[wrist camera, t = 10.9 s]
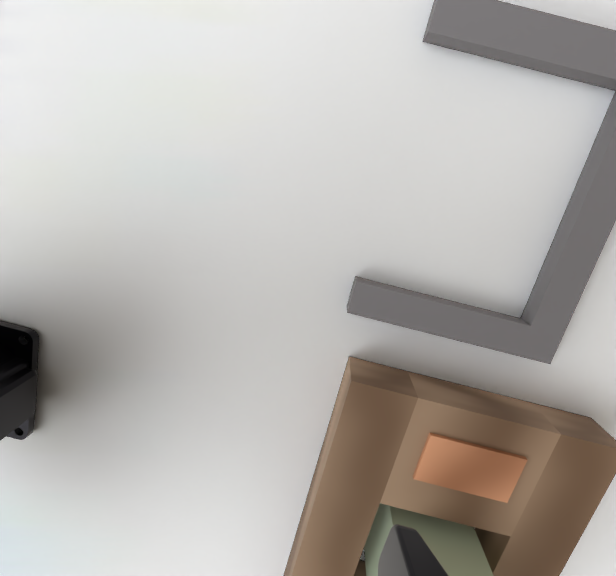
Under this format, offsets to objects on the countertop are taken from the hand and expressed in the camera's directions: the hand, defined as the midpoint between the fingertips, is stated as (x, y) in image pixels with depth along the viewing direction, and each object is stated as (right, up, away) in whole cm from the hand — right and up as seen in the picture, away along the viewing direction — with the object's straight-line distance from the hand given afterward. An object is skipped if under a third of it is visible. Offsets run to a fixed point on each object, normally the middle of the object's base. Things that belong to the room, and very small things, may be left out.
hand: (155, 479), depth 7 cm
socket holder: (+9, -10, +14) cm, 20 cm away
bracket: (+10, +8, +10) cm, 16 cm away
